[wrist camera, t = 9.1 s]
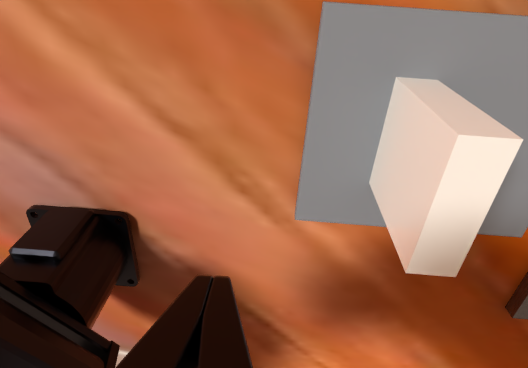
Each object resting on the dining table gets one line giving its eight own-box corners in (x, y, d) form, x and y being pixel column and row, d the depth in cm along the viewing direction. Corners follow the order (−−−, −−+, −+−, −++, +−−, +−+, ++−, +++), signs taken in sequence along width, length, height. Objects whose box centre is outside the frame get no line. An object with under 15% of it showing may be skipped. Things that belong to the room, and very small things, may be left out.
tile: (405, 185, 20) (457, 277, 14) (369, 182, 20) (405, 273, 14) (439, 80, 17) (526, 139, 11) (395, 76, 17) (458, 134, 11)
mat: (516, 231, 22) (521, 237, 21) (294, 214, 22) (295, 219, 21) (633, 23, 16) (645, 24, 15) (322, 1, 16) (324, 2, 15)
